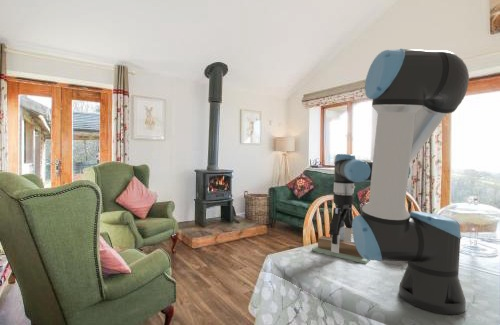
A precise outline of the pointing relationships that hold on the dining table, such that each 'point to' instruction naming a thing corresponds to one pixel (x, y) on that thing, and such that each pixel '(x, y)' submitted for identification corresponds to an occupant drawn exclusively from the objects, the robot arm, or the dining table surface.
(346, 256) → the mat
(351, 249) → the rail
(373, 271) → the dining table surface
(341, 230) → the post far
